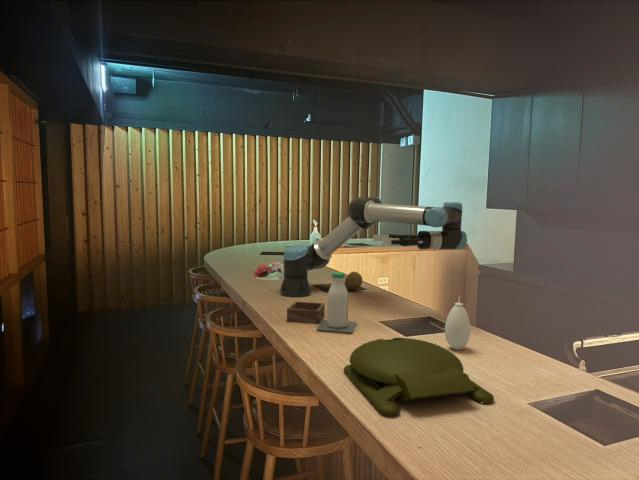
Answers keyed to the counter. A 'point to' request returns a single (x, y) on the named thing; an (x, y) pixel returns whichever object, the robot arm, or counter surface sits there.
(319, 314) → the walnut caddy
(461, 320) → the grey air blower bulb
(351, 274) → the natural sponge
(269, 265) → the candy landscape model
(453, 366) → the spaceship
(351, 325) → the slate tile
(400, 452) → the counter surface
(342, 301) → the milk bottle
